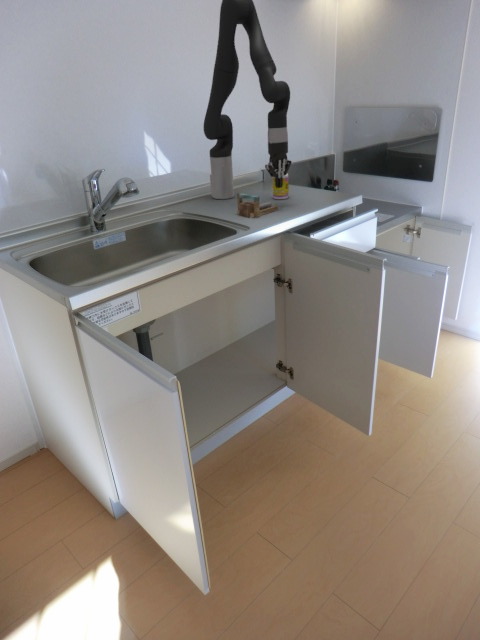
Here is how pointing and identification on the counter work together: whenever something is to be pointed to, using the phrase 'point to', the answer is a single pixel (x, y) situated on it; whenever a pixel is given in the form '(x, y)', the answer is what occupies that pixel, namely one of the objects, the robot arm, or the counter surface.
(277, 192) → the supplement bottle
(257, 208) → the rail channel with trap bar
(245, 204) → the walnut cube
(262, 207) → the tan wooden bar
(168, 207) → the counter surface
